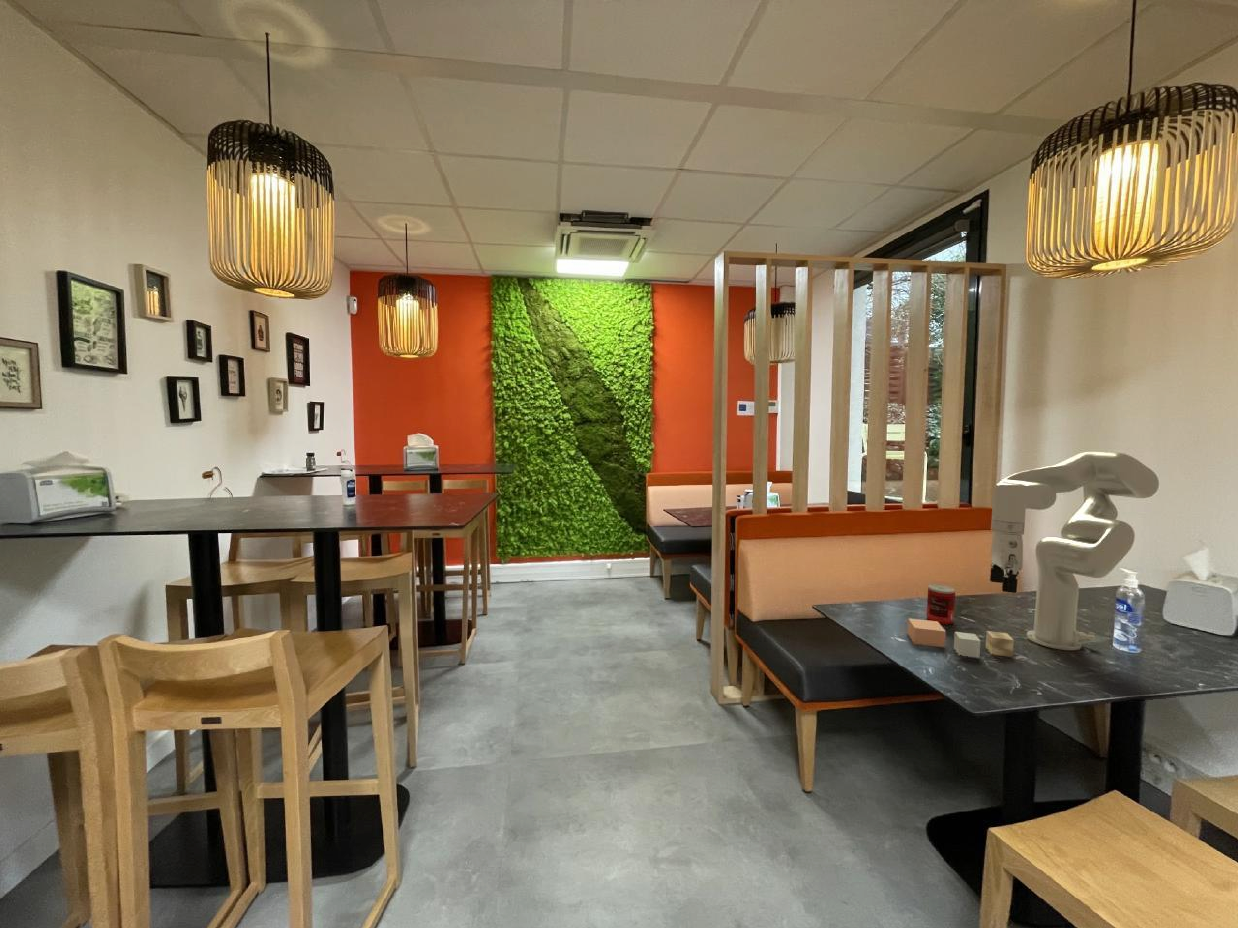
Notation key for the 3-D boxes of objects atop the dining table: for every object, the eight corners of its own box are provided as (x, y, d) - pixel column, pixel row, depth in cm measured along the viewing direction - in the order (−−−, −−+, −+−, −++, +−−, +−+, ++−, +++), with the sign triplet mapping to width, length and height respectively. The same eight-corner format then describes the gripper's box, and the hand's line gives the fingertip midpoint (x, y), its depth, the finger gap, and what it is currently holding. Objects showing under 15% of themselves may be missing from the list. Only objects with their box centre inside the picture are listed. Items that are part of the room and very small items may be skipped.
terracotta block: (936, 637, 161) (937, 621, 160) (944, 648, 153) (945, 631, 153) (907, 633, 163) (908, 618, 163) (913, 644, 155) (914, 627, 155)
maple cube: (1005, 650, 152) (1007, 633, 152) (1012, 657, 147) (1013, 639, 147) (985, 647, 154) (986, 630, 153) (991, 654, 149) (992, 637, 148)
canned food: (945, 616, 178) (947, 584, 177) (958, 625, 170) (960, 592, 169) (921, 615, 179) (923, 583, 178) (933, 624, 171) (935, 591, 170)
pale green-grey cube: (973, 650, 151) (974, 634, 151) (979, 658, 146) (980, 640, 146) (953, 648, 153) (954, 631, 152) (958, 655, 148) (959, 638, 148)
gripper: (1036, 534, 138) (1031, 597, 139) (1011, 522, 154) (1007, 580, 156) (1002, 531, 141) (997, 594, 142) (981, 520, 157) (977, 577, 158)
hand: (1002, 586), depth 149 cm, fingers open, 9 cm apart
